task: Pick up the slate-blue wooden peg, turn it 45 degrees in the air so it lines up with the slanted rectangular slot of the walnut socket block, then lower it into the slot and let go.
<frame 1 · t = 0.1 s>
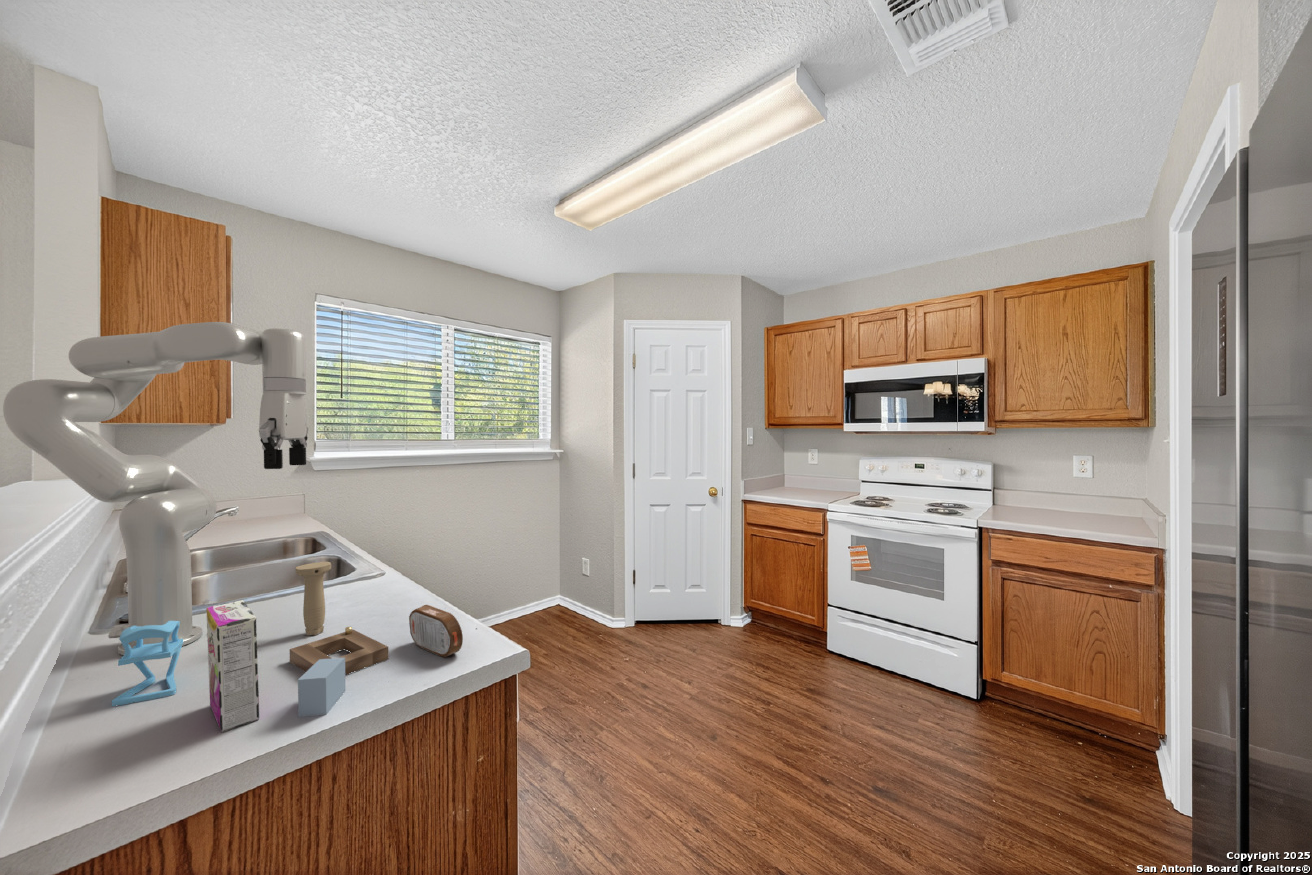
hand: (286, 466, 109), 37 cm above the counter, tool pointing down, fingers open, 9 cm apart
blue peg: (323, 704, 83), on the counter
socket block: (339, 660, 98), on the counter
handle: (314, 634, 111), on the counter
tin: (434, 651, 102), on the counter
chair: (153, 690, 87), on the counter
candy bar box: (233, 714, 80), on the counter
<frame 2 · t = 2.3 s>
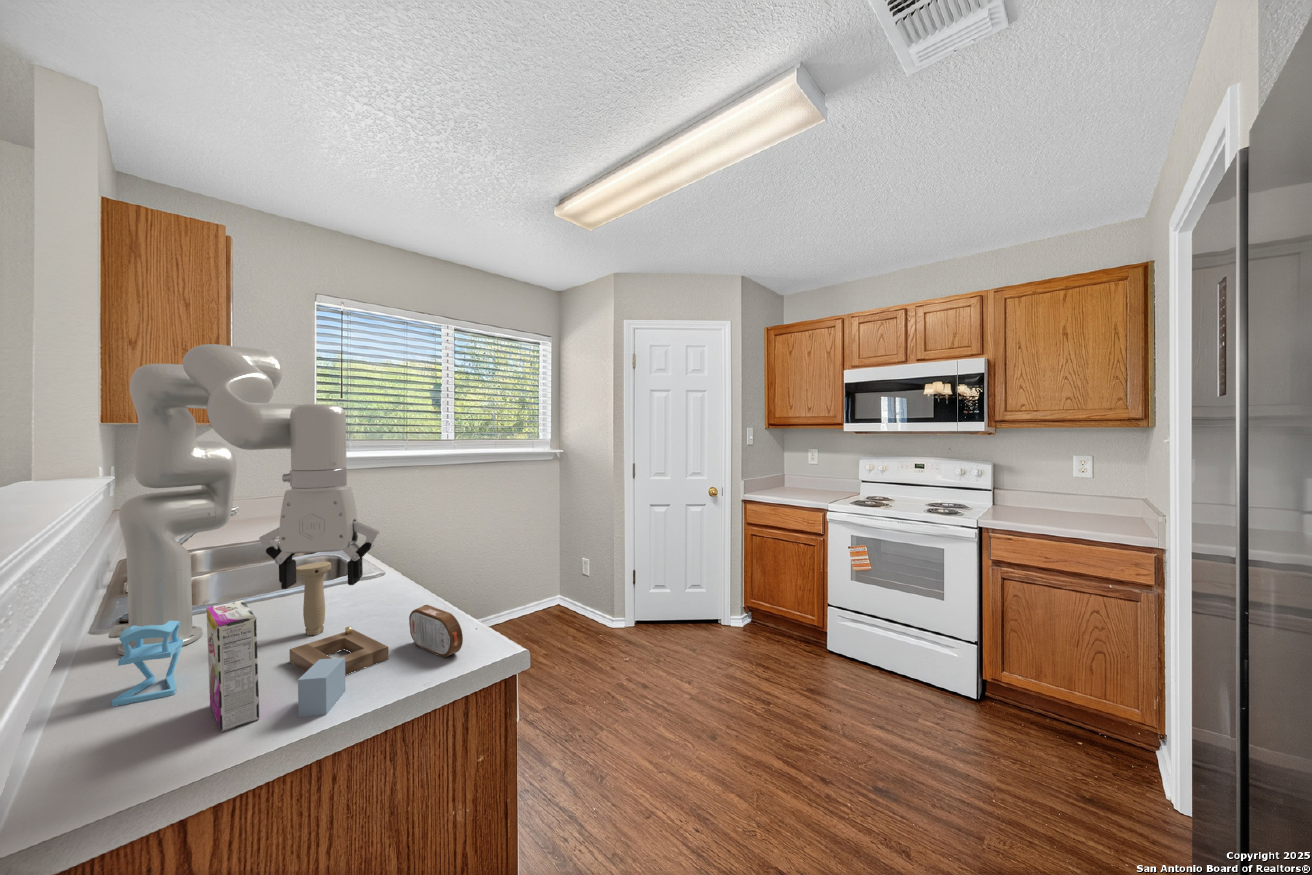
hand: (321, 584, 82), 20 cm above the counter, tool pointing down, fingers open, 9 cm apart
nothing on the counter moved.
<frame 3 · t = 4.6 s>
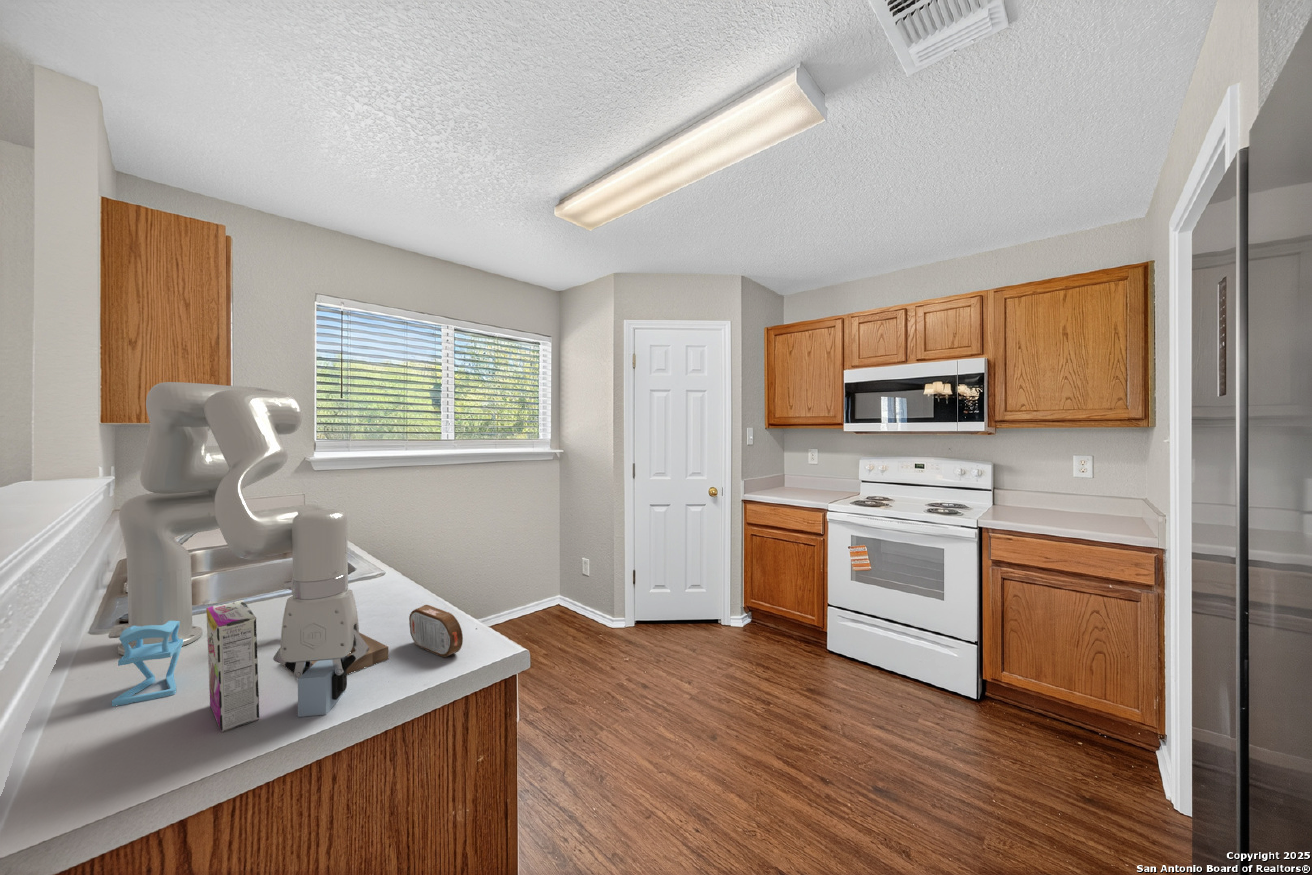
hand: (322, 695, 83), 1 cm above the counter, tool pointing down, fingers closed on blue peg, 3 cm apart
blue peg: (322, 703, 83), on the counter, touching gripper
everything else where it was.
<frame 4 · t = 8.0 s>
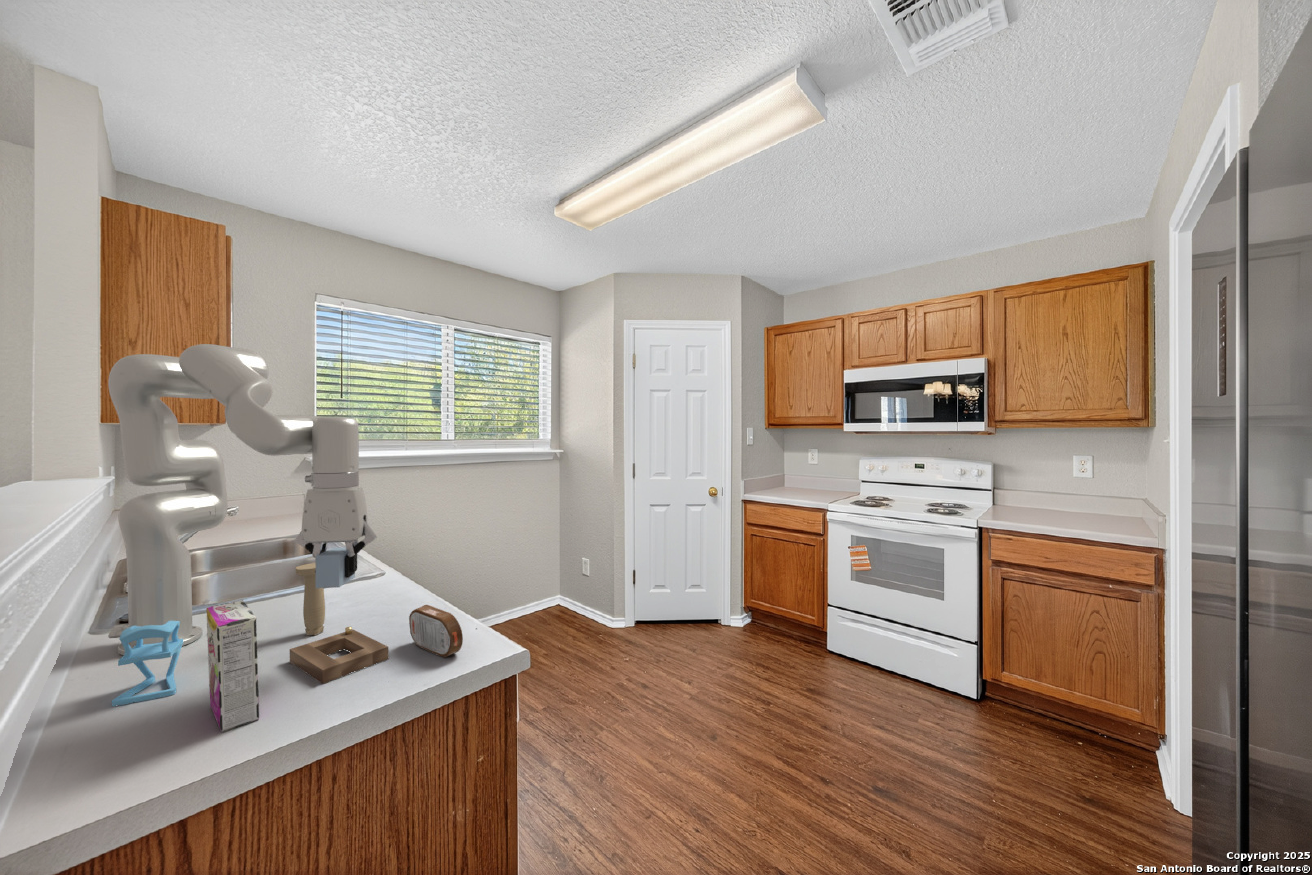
hand: (336, 575, 97), 17 cm above the counter, tool pointing down, fingers closed on blue peg, 4 cm apart
blue peg: (336, 582, 97), point 16 cm above the counter, touching gripper
everything else where it was.
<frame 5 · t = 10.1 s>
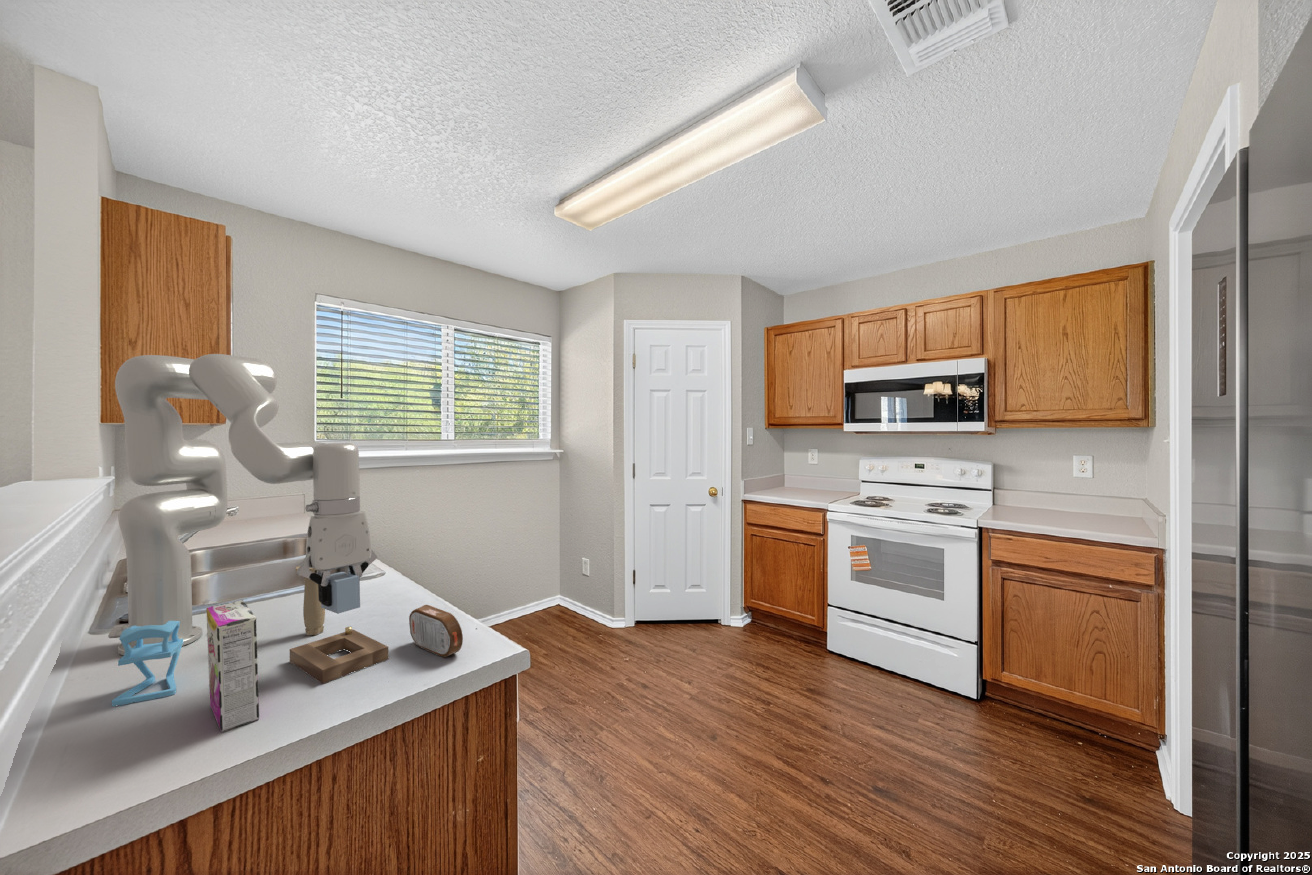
hand: (339, 600, 97), 12 cm above the counter, tool pointing down, fingers closed on blue peg, 4 cm apart
blue peg: (340, 607, 97), point 11 cm above the counter, touching gripper
everything else where it was.
when the fingers open (3 cm above the counter, at t = 11.7 s): blue peg drops 2 cm, resting in socket block.
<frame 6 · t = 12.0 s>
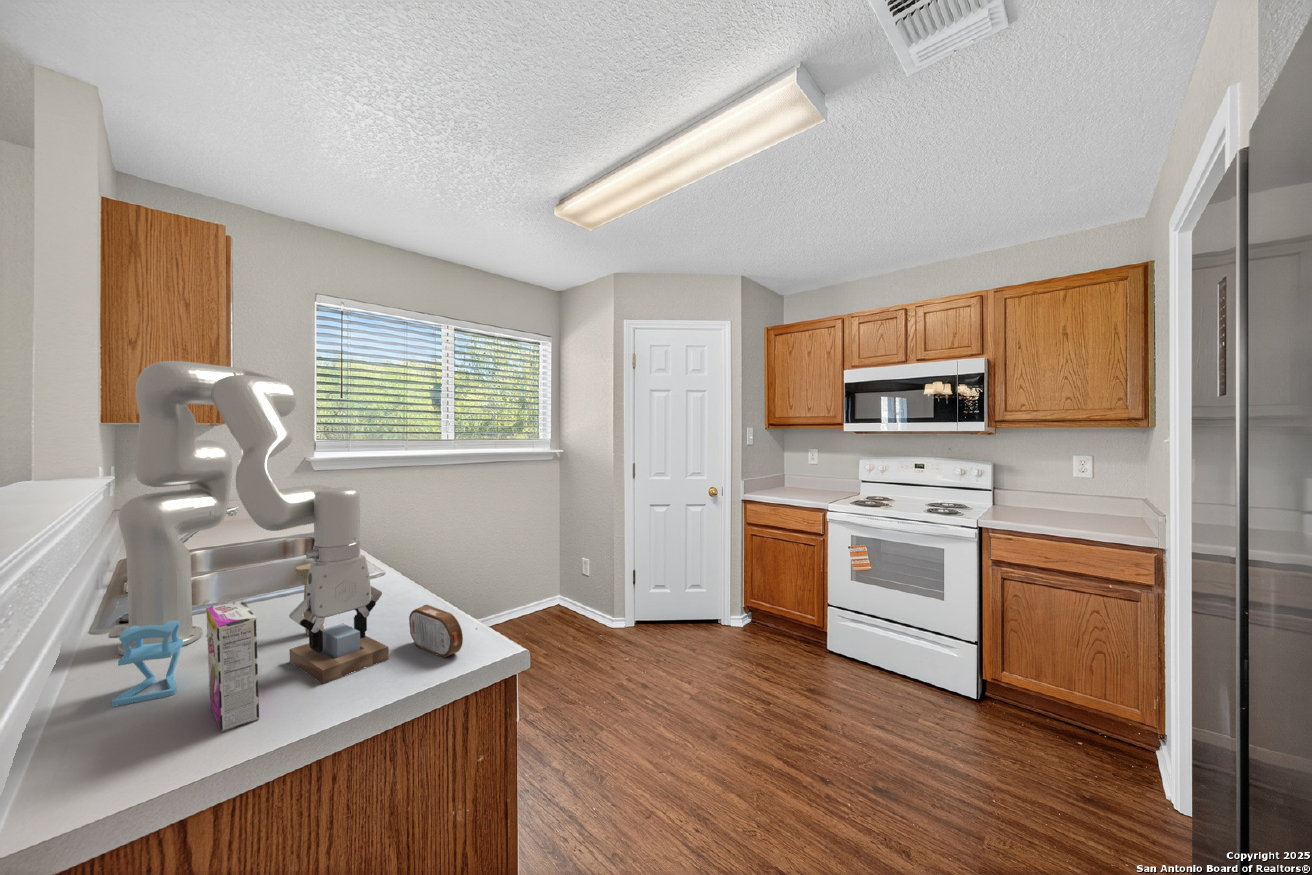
hand: (339, 642, 98), 4 cm above the counter, tool pointing down, fingers open, 7 cm apart
blue peg: (340, 661, 98), resting in socket block
everything else where it was.
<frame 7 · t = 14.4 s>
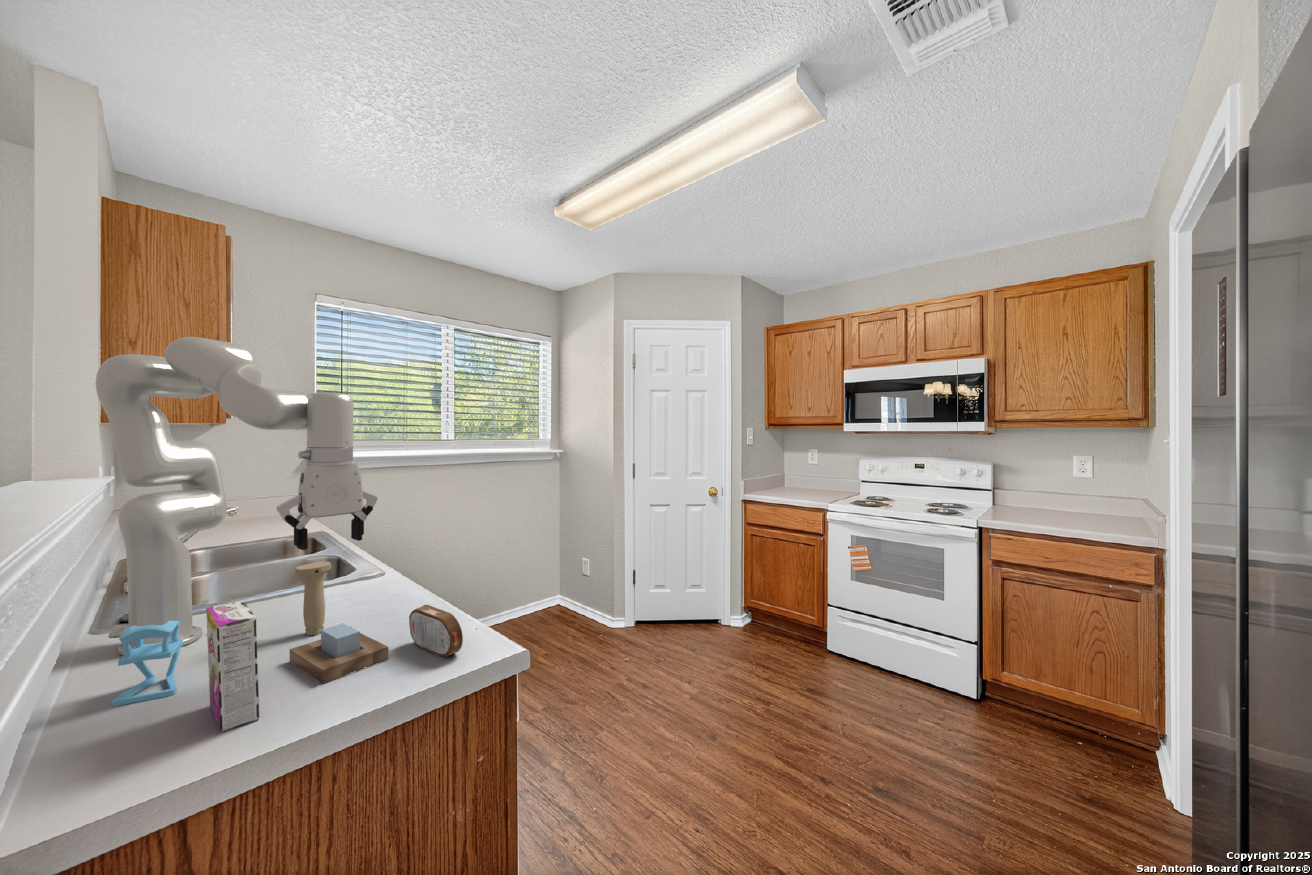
hand: (330, 543, 98), 23 cm above the counter, tool pointing down, fingers open, 9 cm apart
nothing on the counter moved.
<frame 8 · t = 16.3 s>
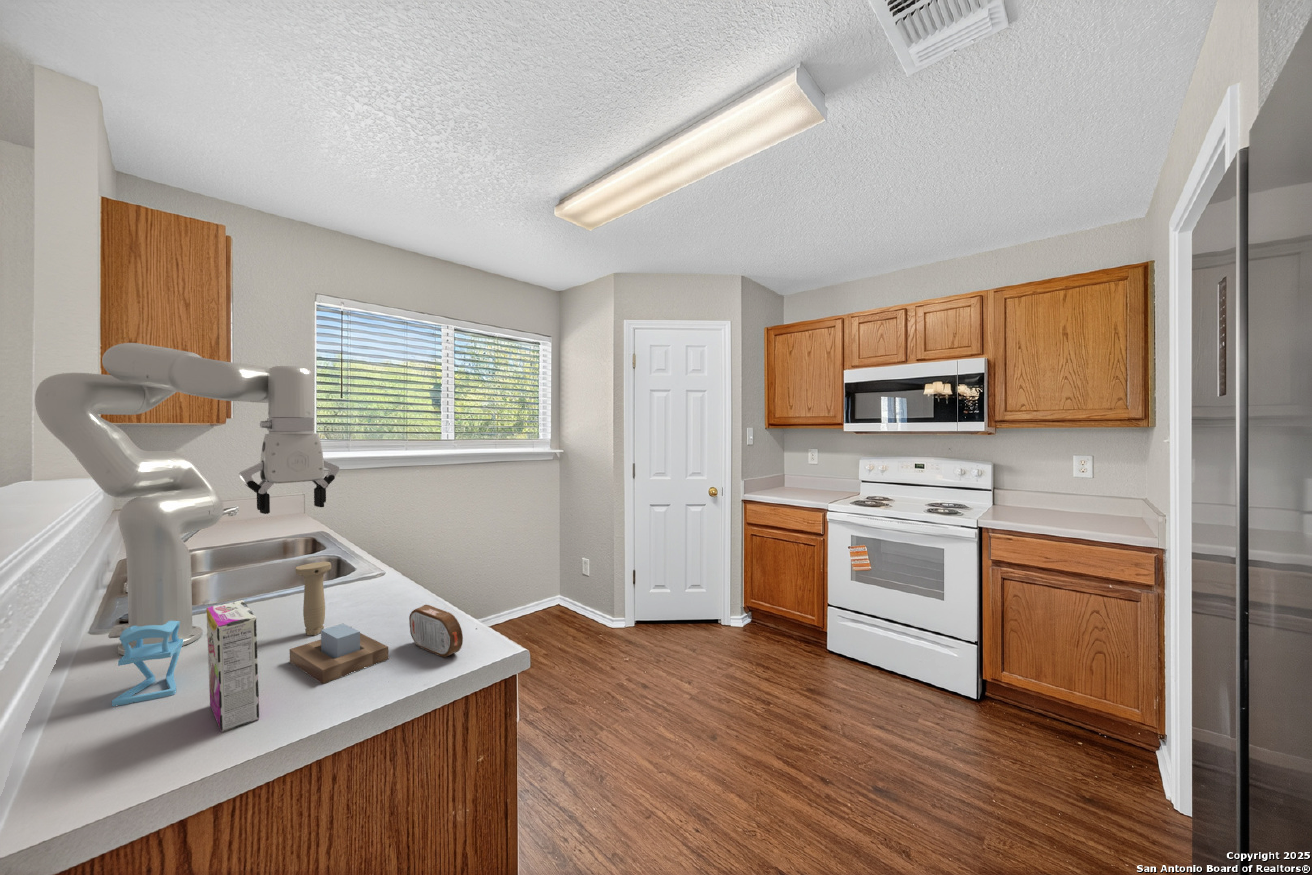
hand: (293, 509, 104), 28 cm above the counter, tool pointing down, fingers open, 9 cm apart
nothing on the counter moved.
at the end: blue peg 0.3 cm off-centre on the socket block, point 0.0 cm above the socket block's base; blue peg tilted 0°; the gripper is holding nothing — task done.
